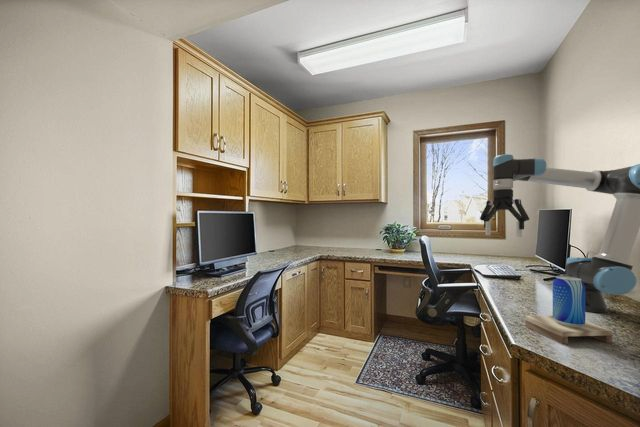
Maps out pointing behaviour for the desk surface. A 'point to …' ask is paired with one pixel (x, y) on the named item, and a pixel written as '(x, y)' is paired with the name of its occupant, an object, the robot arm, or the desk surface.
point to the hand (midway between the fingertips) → (502, 236)
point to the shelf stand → (566, 329)
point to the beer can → (569, 301)
